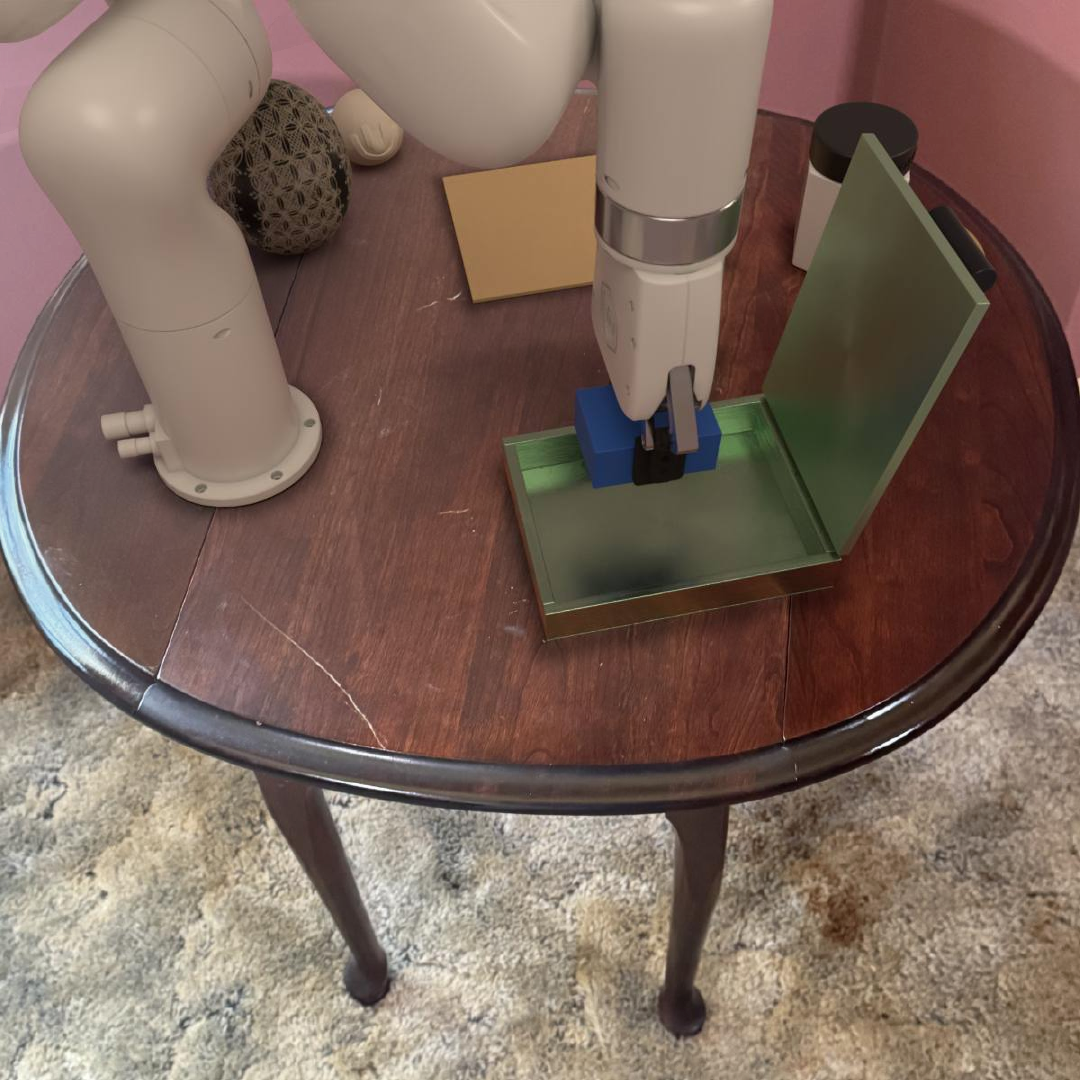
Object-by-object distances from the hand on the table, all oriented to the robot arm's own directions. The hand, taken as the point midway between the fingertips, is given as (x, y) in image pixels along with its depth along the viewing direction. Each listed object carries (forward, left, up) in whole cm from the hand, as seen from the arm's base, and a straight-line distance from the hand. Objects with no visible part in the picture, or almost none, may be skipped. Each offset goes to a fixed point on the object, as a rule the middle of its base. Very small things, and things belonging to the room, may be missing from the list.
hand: (644, 441), depth 71 cm
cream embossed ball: (-14, +50, -9) cm, 52 cm away
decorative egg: (-22, +39, -9) cm, 45 cm away
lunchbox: (+1, 0, -9) cm, 9 cm away
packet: (0, 0, -1) cm, 1 cm away
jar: (+24, +26, -9) cm, 37 cm away
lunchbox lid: (+13, 0, +5) cm, 14 cm away
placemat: (+3, +36, -9) cm, 37 cm away
